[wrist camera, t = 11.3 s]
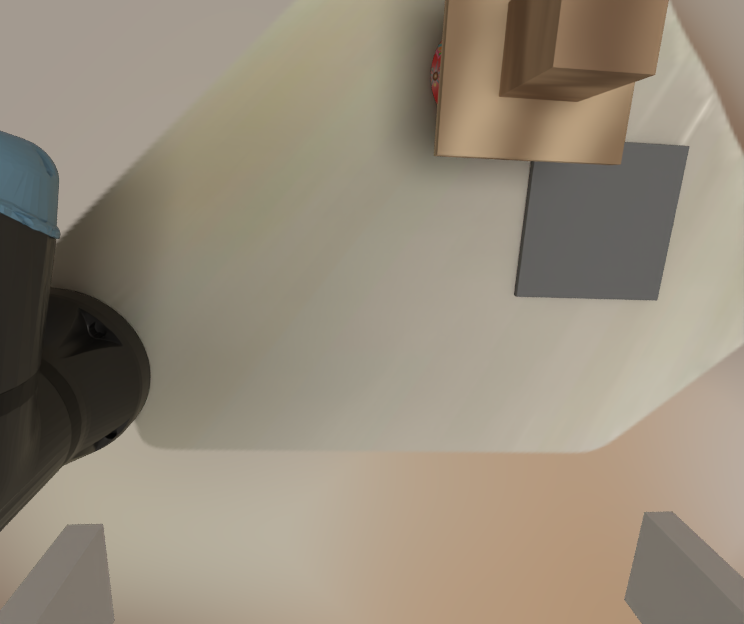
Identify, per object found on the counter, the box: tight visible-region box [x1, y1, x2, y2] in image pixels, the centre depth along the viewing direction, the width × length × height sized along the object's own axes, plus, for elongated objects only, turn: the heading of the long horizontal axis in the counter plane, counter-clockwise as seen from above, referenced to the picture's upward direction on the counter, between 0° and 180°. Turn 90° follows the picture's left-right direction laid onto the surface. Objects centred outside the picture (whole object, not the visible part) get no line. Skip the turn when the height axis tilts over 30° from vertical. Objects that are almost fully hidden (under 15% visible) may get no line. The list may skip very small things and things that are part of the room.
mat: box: [514, 142, 689, 300], centre depth 42 cm, size 14×14×1 cm
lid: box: [434, 0, 669, 165], centre depth 24 cm, size 12×12×8 cm
